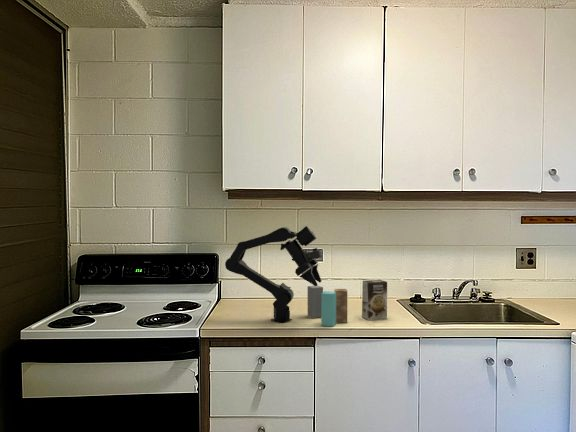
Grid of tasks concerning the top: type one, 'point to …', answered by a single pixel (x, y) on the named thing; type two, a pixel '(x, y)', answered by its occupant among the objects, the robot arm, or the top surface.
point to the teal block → (328, 308)
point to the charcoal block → (314, 301)
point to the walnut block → (341, 305)
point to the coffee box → (374, 299)
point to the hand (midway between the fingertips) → (318, 283)
